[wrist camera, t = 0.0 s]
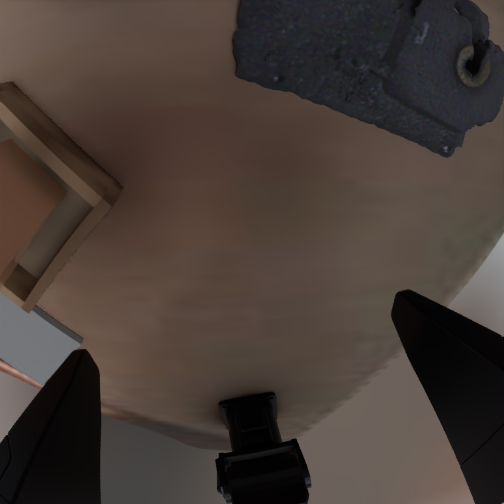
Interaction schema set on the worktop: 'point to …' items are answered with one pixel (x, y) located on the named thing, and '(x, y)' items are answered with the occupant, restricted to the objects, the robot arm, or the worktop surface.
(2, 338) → the rubber mat
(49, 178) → the lidded terracotta box
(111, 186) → the brown wooden tray
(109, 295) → the worktop surface
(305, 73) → the dark slate chunk
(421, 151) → the worktop surface
